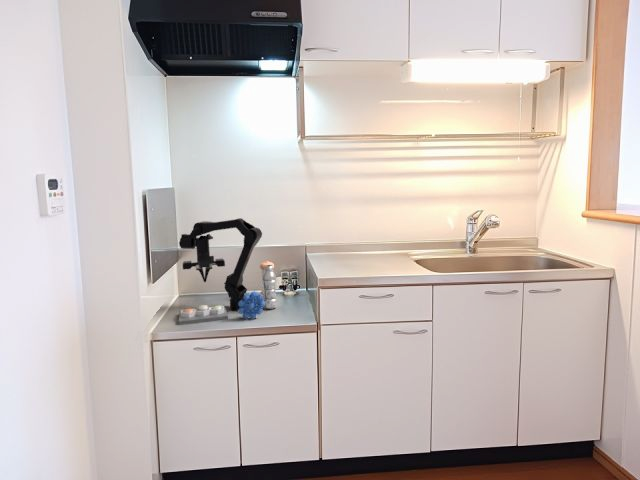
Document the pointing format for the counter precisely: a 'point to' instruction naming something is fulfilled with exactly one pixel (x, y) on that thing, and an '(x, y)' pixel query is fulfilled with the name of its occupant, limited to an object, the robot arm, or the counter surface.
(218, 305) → the sage button
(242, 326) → the counter surface
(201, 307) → the grey button
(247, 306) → the grapes
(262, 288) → the pepper shaker
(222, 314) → the button panel
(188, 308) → the terracotta button
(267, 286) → the plastic bottle
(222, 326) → the counter surface
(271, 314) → the counter surface
